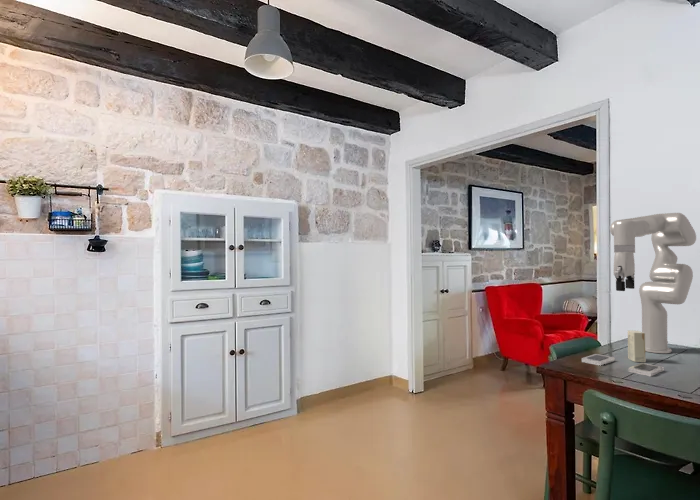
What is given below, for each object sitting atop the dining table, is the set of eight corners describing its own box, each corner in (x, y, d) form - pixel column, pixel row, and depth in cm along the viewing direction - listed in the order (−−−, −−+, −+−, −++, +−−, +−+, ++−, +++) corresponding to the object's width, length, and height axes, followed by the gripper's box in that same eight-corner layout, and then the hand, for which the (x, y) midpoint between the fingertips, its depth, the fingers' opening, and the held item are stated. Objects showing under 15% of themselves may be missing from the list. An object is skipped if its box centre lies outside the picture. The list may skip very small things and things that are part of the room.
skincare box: (646, 362, 174) (645, 333, 174) (634, 362, 175) (634, 332, 175) (638, 358, 180) (638, 330, 180) (627, 358, 181) (627, 329, 181)
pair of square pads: (595, 357, 183) (595, 353, 183) (663, 370, 162) (663, 366, 162) (581, 361, 176) (581, 357, 176) (650, 376, 156) (650, 371, 156)
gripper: (623, 248, 187) (623, 287, 187) (606, 250, 177) (606, 291, 177) (642, 248, 181) (643, 288, 181) (626, 250, 171) (627, 292, 171)
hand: (625, 289), depth 179 cm, fingers open, 9 cm apart
